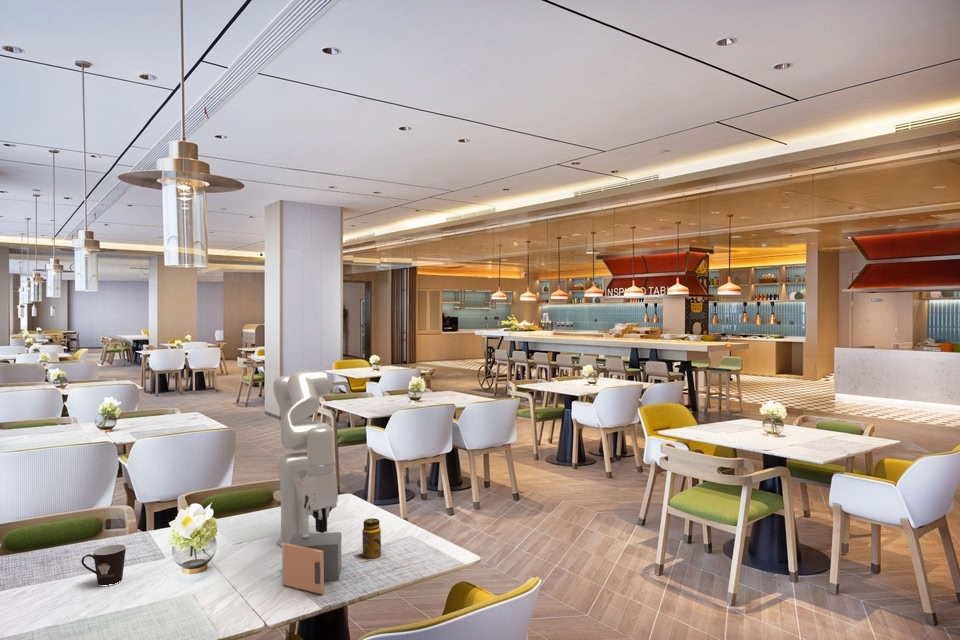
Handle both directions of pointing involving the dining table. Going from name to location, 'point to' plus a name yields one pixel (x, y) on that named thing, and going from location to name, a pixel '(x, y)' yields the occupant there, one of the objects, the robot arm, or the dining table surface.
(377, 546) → the condiment
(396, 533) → the dining table surface
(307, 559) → the door
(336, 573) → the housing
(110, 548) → the coffee mug
